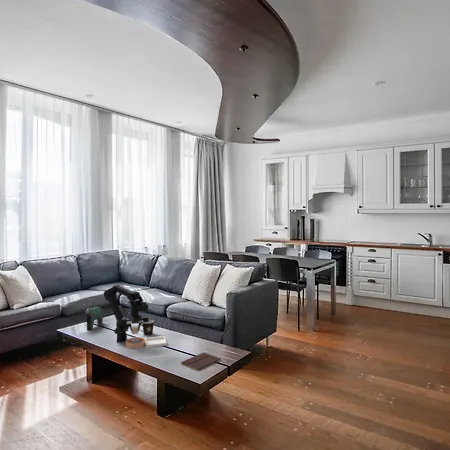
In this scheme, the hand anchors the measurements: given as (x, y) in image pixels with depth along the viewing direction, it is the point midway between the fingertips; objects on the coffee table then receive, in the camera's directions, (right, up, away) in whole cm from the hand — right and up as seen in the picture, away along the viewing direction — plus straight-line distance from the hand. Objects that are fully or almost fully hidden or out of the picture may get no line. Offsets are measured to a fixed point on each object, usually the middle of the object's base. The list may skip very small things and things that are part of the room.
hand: (135, 332), depth 255 cm
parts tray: (+14, -9, +2) cm, 17 cm away
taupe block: (0, -1, 0) cm, 1 cm away
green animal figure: (-43, -8, +40) cm, 59 cm away
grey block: (+1, -8, -4) cm, 9 cm away
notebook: (+48, -10, -30) cm, 58 cm away
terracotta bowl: (+1, -9, -2) cm, 9 cm away
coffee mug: (+3, -8, +20) cm, 22 cm away
